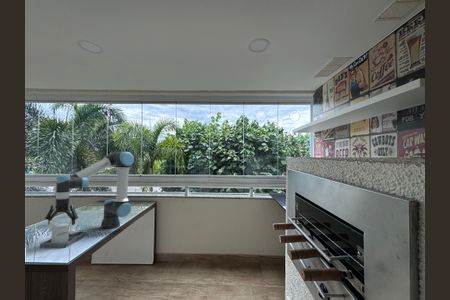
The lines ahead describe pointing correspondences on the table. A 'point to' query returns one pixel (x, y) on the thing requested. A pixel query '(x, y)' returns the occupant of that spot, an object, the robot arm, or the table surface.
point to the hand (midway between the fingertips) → (61, 229)
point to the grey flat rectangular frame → (63, 245)
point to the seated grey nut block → (73, 234)
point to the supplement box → (60, 233)
